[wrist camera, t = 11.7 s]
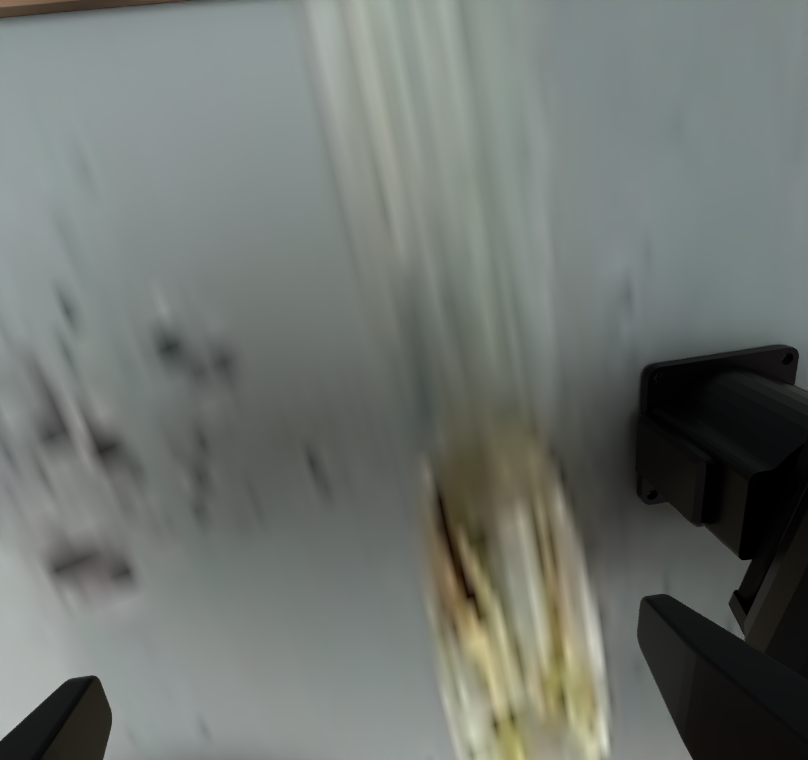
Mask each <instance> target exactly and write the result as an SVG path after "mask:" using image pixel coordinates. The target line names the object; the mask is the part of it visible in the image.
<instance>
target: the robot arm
mask: <svg viewBox="0 0 808 760" xmlns="http://www.w3.org/2000/svg"><path fill="white" fill-rule="evenodd" d="M785 354H786V356H785V358H784V359H783V360H782V357H783V356H784V355H785ZM798 359H799V353H798V351H797V349H795V348H793V347H790V346H787V345H776V346H770V347H763V348H756V349H750V350H743V351H737V352H730V353H724V354H717V355H710V356H704V357H697V358H691V359H684V360H677V361H671V362H664V363H658V364H653V365H651V366H649V367H648V368H647V369H646V370H645V372H644V375H643V385H642V403H641V416H640V418H639V420H638V428H637V447H636V467H635V469H636V471H637V472H638V479H637V495H638V497H639V498H640V499H641V500H642V501H643V502H644V503H645V504H648V505H652V504H658V503H664V502H669V503H670V504H671V505H673V506H674V507H675V508H676V509H677V510H678V511H679V512H680V513H681V514H682V515H683V516H684V517H685V518H686V519H687V520H688V521H689V522H691V523H692V524H693V525H694V526H696V527H701V526H705V527H706V528H707V529H708V530H709V531H711V532H712V533H713V534H714V535H715V536H716V537H717V538H718V539H719V540H720V541H721V542H722V543H724V544H725V545H726V546H727V547H728V548H729V549H730V550H731V551H732V552H733V553H734V554H735V555H736V556H738V557H739V558H740V559H741V560H750V559H752V561H751V563H750V565H749V567H748V570H747V572H746V574H745V576H744V578H743V581H742V583H741V585H740V587H739V590H735V591H734V592H733V595H732V597H731V599H730V601H729V606H730V608H731V610H732V612H733V614H734V616H735V618H736V620H737V622H738V624H739V626H740V628H741V630H742V632H743V634H744V636H745V641H743V640H742V639H740V638H738V637H737V636H735V635H733V634H732V633H730V632H729V631H727V630H725V629H724V628H722V627H720V626H719V625H717V624H715V623H714V622H712V621H710V620H709V619H707V618H706V617H704V616H702V615H701V614H699V613H697V612H696V611H694V610H692V609H691V608H689V607H687V606H686V605H684V604H683V603H681V602H679V601H678V600H676V599H674V598H673V597H671V596H669V595H666V594H659V595H652V596H645V597H643V598H642V600H641V602H640V609H639V619H638V628H637V638H638V643H639V646H640V649H641V651H642V653H643V655H644V657H645V660H646V662H647V664H648V666H649V669H650V671H651V673H652V675H653V677H654V680H655V682H656V684H657V686H658V688H659V691H660V693H661V695H662V697H663V699H664V702H665V704H666V706H667V708H668V710H669V713H670V715H671V717H672V719H673V721H674V724H675V726H676V728H677V730H678V732H679V734H680V736H681V738H682V740H683V742H684V744H685V746H686V748H687V750H688V752H689V753H690V755H691V757H692V759H693V760H808V391H806V390H804V389H801V388H799V387H797V386H795V385H794V383H795V377H796V371H797V365H798ZM658 373H660V374H661V375H660V378H659V379H658V380H656V381H654V378H655V376H656V375H657V374H658ZM651 490H653V491H652V492H651V493H650V494H648V492H649V491H651ZM647 494H648V495H647ZM111 725H112V712H111V708H110V706H109V703H108V700H107V698H106V695H105V692H104V689H103V687H102V684H101V682H100V680H99V678H98V677H96V676H85V677H78V678H72V679H69V680H67V681H66V682H64V683H63V684H62V685H61V686H60V687H59V688H58V689H56V690H55V691H54V692H53V693H52V694H51V695H50V696H49V697H48V698H47V699H46V700H44V701H43V702H42V703H41V704H40V705H39V706H38V707H37V708H36V709H35V710H34V711H33V712H31V713H30V714H29V715H28V716H27V717H26V718H25V719H24V720H23V721H22V722H21V723H19V724H18V725H17V726H16V727H15V728H14V729H13V730H12V731H11V732H10V733H9V734H7V735H6V736H5V737H4V738H3V739H2V740H1V741H0V760H103V758H104V754H105V750H106V746H107V742H108V738H109V734H110V730H111Z"/></svg>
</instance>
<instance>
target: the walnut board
mask: <svg viewBox="0 0 808 760" xmlns="http://www.w3.org/2000/svg"><path fill="white" fill-rule="evenodd" d="M174 1H185V0H0V17H10V16H21V15H32V14H43V13H54V12H65V11H76V10H86V9H97V8H108V7H119V6H130V5H141V4H152V3H163V2H174Z"/></svg>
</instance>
